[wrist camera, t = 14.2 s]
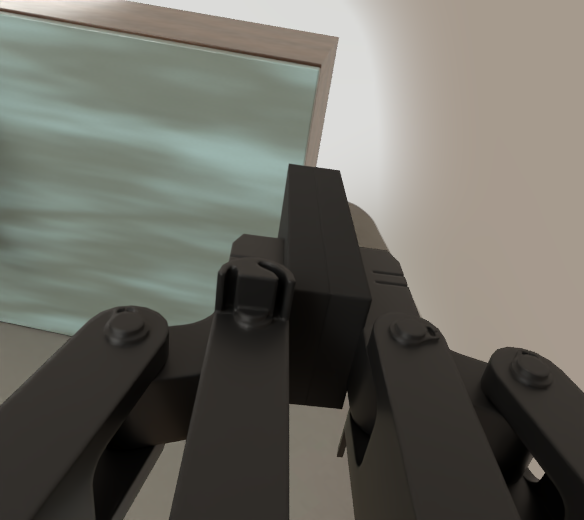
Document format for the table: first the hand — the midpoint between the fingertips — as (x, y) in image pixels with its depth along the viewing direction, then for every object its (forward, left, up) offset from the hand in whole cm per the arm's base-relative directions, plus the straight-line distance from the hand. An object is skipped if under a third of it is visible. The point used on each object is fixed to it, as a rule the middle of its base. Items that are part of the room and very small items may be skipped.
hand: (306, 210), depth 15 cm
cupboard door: (+14, -14, -22) cm, 30 cm away
